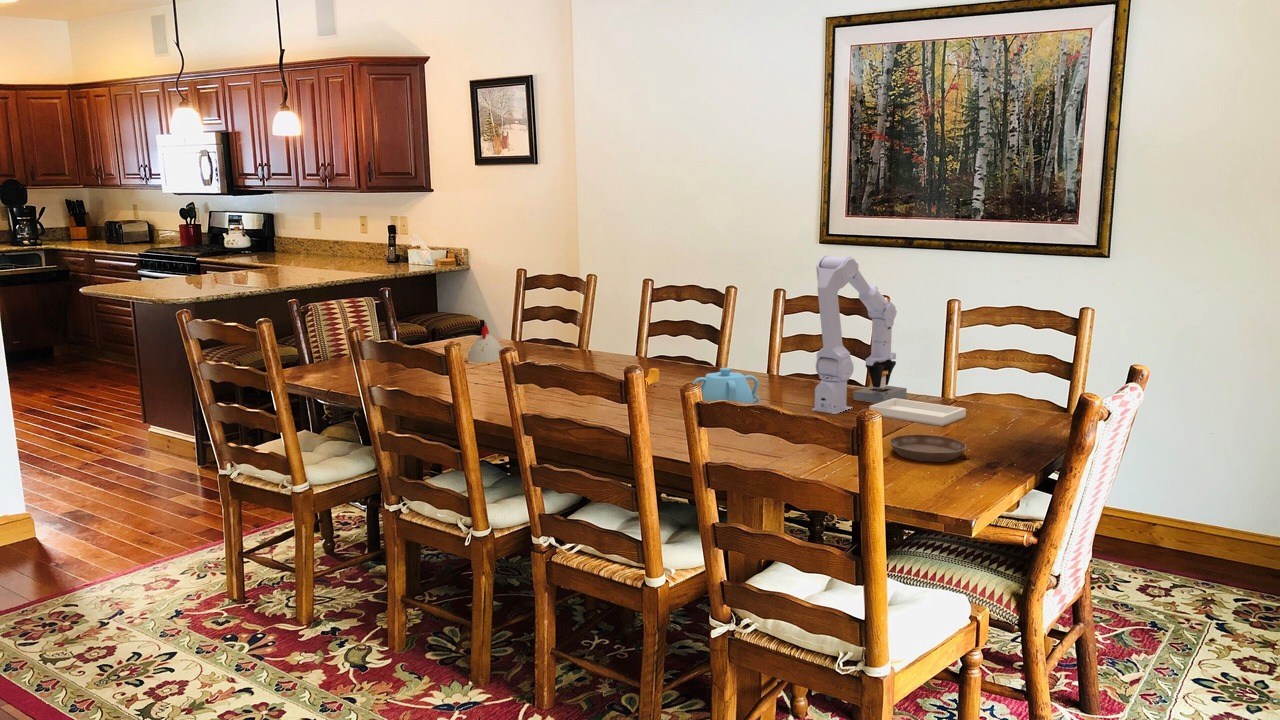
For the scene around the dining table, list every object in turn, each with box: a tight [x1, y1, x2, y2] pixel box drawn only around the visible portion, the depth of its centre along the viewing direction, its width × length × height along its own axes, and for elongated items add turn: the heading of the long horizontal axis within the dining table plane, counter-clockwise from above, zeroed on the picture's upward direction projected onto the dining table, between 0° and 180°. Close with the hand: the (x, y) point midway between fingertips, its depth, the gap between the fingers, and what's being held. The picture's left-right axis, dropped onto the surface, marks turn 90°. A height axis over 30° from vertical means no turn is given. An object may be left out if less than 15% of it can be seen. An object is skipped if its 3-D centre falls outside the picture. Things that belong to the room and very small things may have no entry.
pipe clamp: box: [645, 367, 660, 388], centre depth 319 cm, size 12×4×6 cm, turn 144°
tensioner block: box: [852, 385, 908, 404], centre depth 301 cm, size 14×10×3 cm
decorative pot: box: [691, 367, 761, 404], centre depth 282 cm, size 16×16×14 cm
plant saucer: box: [889, 434, 967, 463], centre depth 239 cm, size 18×18×3 cm
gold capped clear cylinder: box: [875, 369, 888, 392], centre depth 300 cm, size 4×4×9 cm
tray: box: [868, 398, 967, 427], centre depth 279 cm, size 14×22×2 cm, turn 47°
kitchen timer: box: [467, 325, 504, 363], centre depth 367 cm, size 14×14×15 cm
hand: (880, 385), depth 300 cm, fingers closed on gold capped clear cylinder, 4 cm apart
